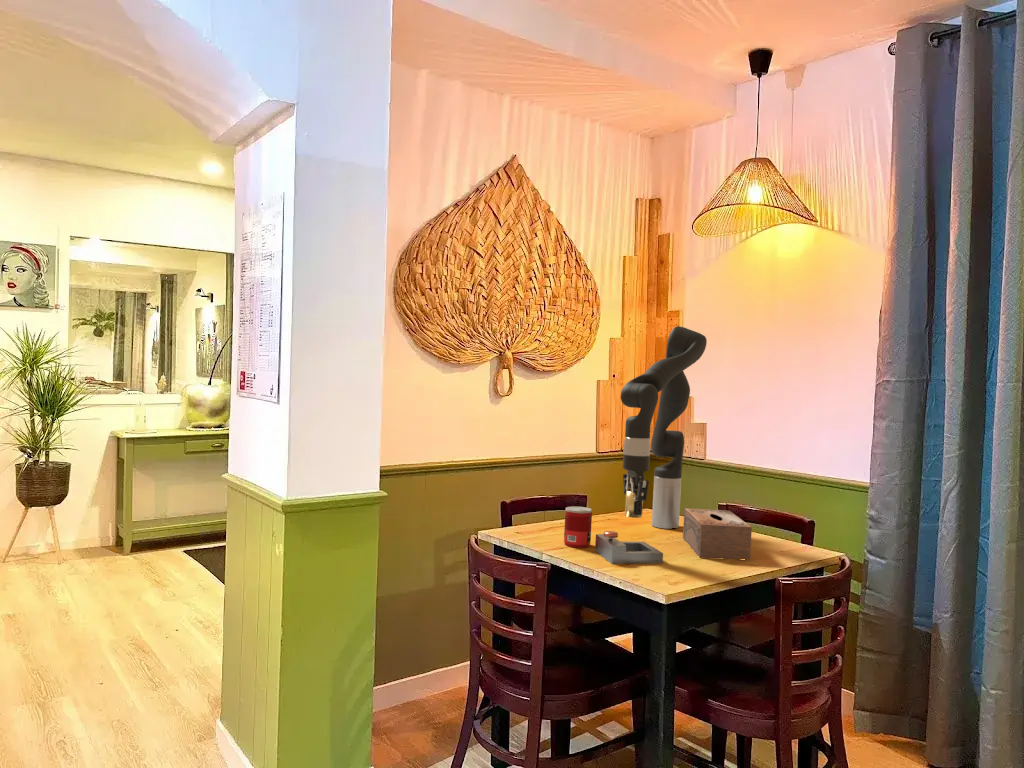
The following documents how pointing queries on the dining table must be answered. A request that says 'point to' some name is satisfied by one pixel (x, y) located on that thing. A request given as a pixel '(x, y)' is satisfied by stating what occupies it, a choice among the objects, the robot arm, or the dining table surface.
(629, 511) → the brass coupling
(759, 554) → the dining table surface
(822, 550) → the dining table surface
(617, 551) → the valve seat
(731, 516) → the tissue box cover
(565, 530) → the canned food
